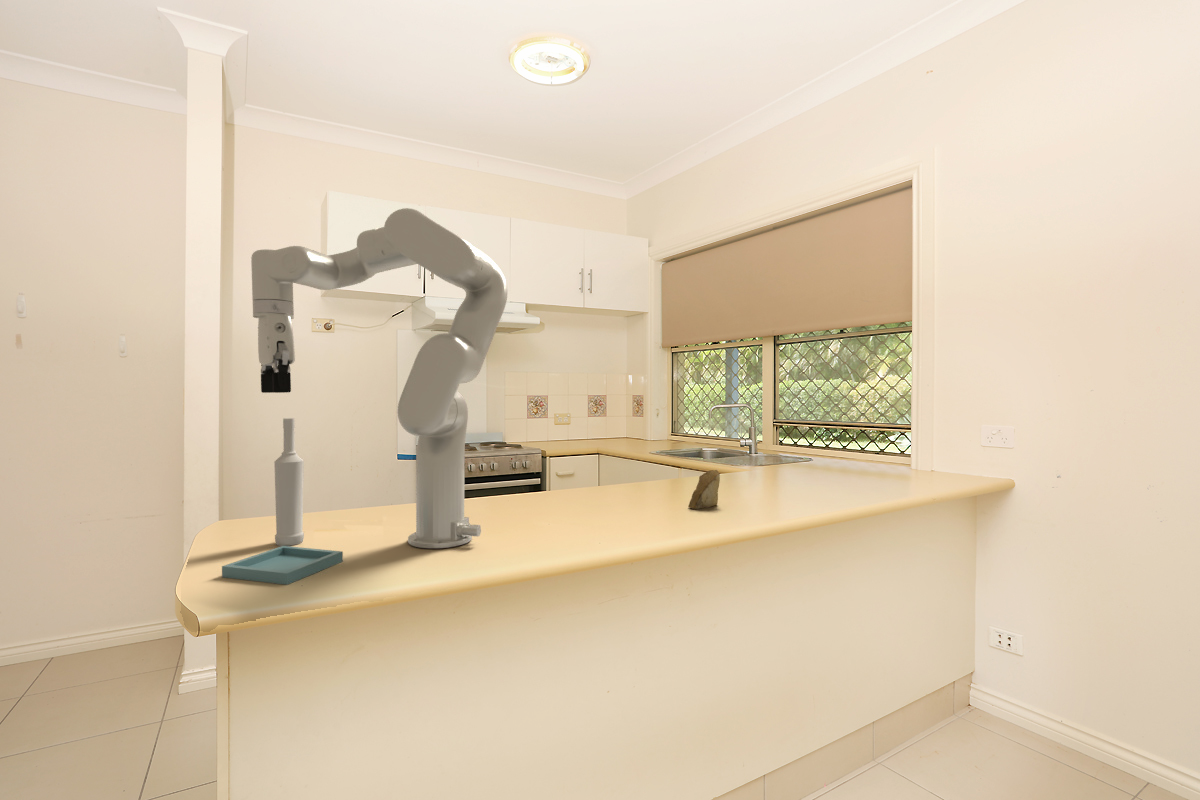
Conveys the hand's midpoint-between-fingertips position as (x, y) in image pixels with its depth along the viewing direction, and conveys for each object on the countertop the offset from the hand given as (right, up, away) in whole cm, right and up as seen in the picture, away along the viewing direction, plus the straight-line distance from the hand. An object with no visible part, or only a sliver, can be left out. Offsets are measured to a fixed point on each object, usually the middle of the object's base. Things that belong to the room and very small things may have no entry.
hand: (275, 392), depth 125 cm
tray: (+14, -31, -22) cm, 40 cm away
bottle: (+6, -30, -6) cm, 32 cm away
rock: (+95, -30, +34) cm, 106 cm away
